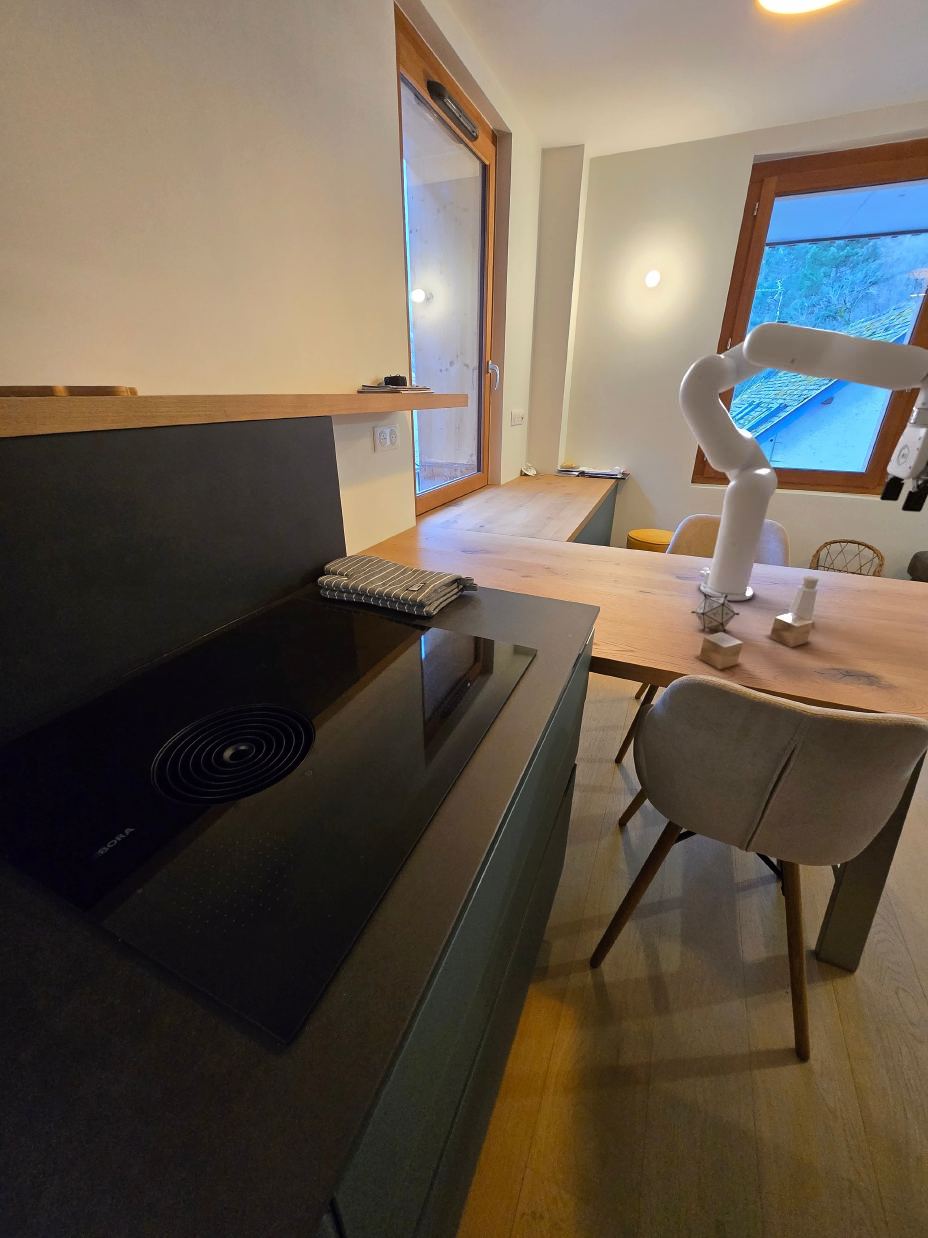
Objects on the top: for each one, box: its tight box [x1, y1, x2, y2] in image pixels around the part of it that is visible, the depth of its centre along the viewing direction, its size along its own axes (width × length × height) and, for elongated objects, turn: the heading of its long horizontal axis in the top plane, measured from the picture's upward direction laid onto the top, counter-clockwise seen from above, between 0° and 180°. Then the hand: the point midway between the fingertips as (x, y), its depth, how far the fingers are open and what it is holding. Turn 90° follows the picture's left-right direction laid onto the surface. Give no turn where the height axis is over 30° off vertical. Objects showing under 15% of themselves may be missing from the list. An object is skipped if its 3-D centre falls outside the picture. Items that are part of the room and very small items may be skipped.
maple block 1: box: [698, 631, 744, 671], centre depth 99 cm, size 5×5×5 cm
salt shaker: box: [786, 575, 819, 621], centre depth 113 cm, size 5×5×11 cm
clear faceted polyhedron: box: [690, 593, 740, 632], centre depth 111 cm, size 9×8×10 cm
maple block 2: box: [769, 613, 814, 648], centre depth 106 cm, size 5×5×5 cm
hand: (899, 505), depth 104 cm, fingers open, 9 cm apart
